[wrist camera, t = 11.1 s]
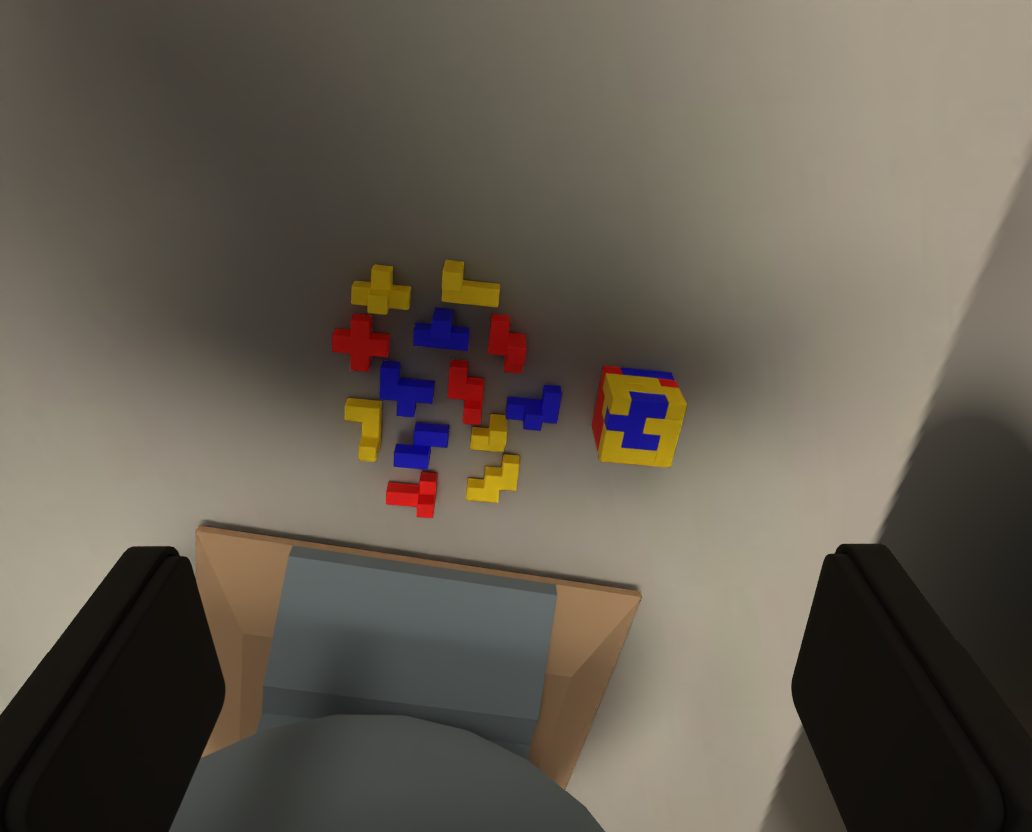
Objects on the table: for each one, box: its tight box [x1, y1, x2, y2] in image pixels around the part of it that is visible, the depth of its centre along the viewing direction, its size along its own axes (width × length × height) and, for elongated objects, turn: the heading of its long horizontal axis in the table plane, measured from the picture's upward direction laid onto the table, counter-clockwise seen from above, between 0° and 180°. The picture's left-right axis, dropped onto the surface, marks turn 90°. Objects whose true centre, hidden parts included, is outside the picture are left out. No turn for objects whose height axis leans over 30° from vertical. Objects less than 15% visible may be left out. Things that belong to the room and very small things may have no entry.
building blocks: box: [332, 260, 687, 518], centre depth 16 cm, size 6×8×2 cm
